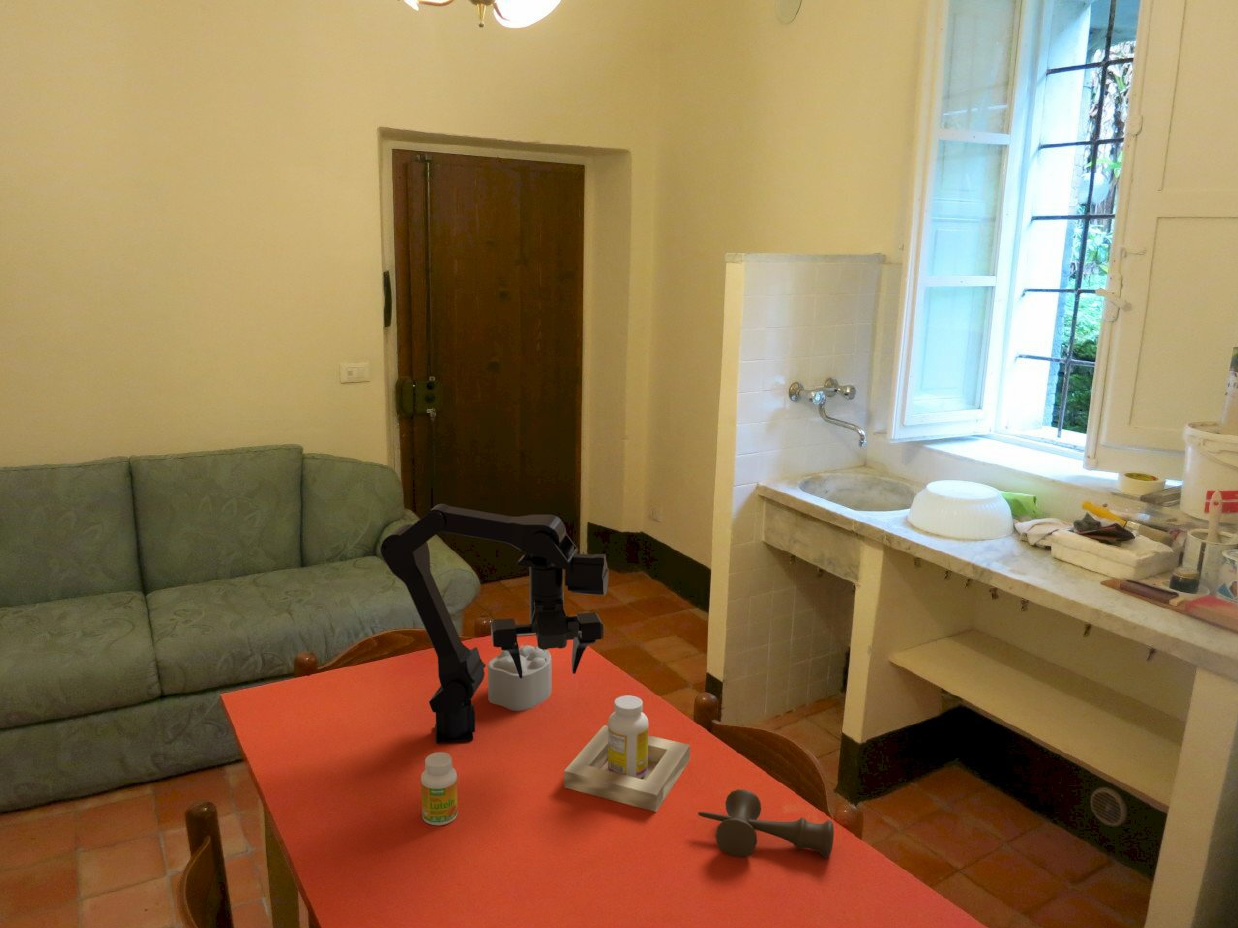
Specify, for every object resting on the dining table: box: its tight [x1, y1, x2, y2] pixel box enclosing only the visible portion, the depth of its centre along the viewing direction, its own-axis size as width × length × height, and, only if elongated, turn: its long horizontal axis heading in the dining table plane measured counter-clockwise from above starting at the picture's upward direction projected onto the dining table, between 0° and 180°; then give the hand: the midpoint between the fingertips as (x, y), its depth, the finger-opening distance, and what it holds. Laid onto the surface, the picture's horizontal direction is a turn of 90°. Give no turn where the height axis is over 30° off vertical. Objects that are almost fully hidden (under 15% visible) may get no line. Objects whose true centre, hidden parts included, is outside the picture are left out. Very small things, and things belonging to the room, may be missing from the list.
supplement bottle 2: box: [607, 694, 649, 779], centre depth 153 cm, size 7×7×13 cm
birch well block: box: [563, 724, 691, 813], centre depth 154 cm, size 16×16×3 cm
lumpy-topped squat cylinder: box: [487, 644, 552, 712], centre depth 180 cm, size 10×13×9 cm
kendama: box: [697, 788, 835, 859], centre depth 137 cm, size 6×10×20 cm
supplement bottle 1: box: [420, 752, 459, 826], centre depth 142 cm, size 5×5×10 cm
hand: (547, 675), depth 160 cm, fingers open, 9 cm apart
